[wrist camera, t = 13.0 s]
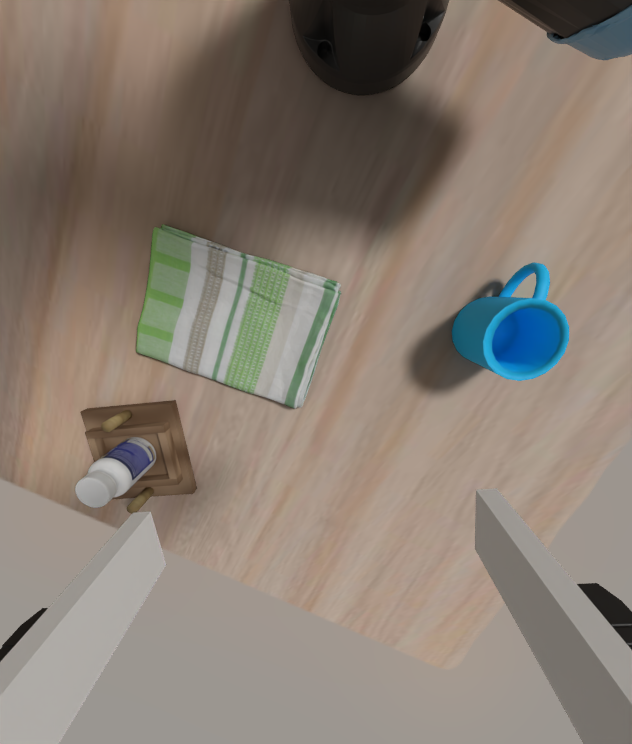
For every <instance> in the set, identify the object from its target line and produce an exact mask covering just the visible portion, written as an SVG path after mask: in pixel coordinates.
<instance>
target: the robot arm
mask: <svg viewBox="0 0 632 744" xmlns="http://www.w3.org/2000/svg"><path fill="white" fill-rule="evenodd" d="M498 1H500V2H502V3H503V4H505V5H506V6H508V7H509V8H511V9H512V10H514V11H515V12H517V13H519V14H520V15H522V16H523V17H525V18H526V19H528V20H529V21H531V22H532V23H534V24H535V25H537V26H539V27H540V28H542V29H543V30H545V31H546V32H547V37H548V38H549V39H550V40H551V41H553V42H555V43H558V44H568V45H570V46H572V47H574V48H575V49H577V50H579V51H581V52H583V53H585V54H586V55H588V56H590V57H592V58H595V59H599V60H609V59H612V58H618V57H625V56H628V55H631V54H632V0H498ZM448 2H449V0H289V4H290V11H291V18H292V25H293V30H294V34H295V37H296V40H297V43H298V46H299V48H300V51H301V53H302V55H303V57H304V58H305V60H306V62H307V63H308V65H309V66H310V68H311V69H312V70H313V71H314V72H315V73H316V75H317V76H318V77H320V78H321V79H322V80H323V81H324V82H326V83H327V84H328V85H330V86H332V87H333V88H335V89H338V90H340V91H343V92H346V93H350V94H356V95H368V94H375V93H379V92H382V91H385V90H388V89H390V88H392V87H394V86H396V85H397V84H399V83H400V82H402V81H403V80H404V79H406V78H407V77H408V76H409V75H410V74H411V73H413V72H414V70H415V69H416V68H417V67H418V66H419V65H420V64H421V62H422V61H423V60H424V58H425V57H426V55H427V54H428V52H429V50H430V48H431V47H432V45H433V43H434V40H435V38H436V36H437V33H438V31H439V28H440V26H441V24H442V21H443V19H444V16H445V13H446V10H447V6H448ZM475 550H476V551H477V553H478V555H479V557H480V559H481V560H482V562H483V564H484V566H485V568H486V569H487V571H488V573H489V575H490V577H491V578H492V580H493V582H494V584H495V586H496V587H497V589H498V591H499V593H500V595H501V596H502V598H503V600H504V602H505V604H506V605H507V607H508V609H509V611H510V612H511V614H512V616H513V618H514V619H515V621H516V623H517V625H518V627H519V629H520V630H521V632H522V634H523V636H524V637H525V639H526V641H527V643H528V645H529V647H530V648H531V650H532V652H533V654H534V655H535V657H536V659H537V661H538V663H539V665H540V666H541V668H542V670H543V672H544V673H545V675H546V677H547V679H548V680H549V682H550V684H551V686H552V688H553V690H554V691H555V693H556V695H557V697H558V699H559V701H560V702H561V704H562V706H563V708H564V710H565V711H566V713H567V715H568V717H569V718H570V720H571V722H572V724H573V726H574V727H575V729H576V731H577V733H578V735H579V736H580V738H581V740H582V742H583V744H632V612H631V611H630V610H629V608H628V607H627V606H626V605H625V604H624V603H623V602H622V601H621V600H619V599H618V598H617V597H615V596H614V595H613V594H611V593H610V592H608V591H607V590H606V589H604V588H603V587H601V586H600V585H599V584H597V583H592V584H576V583H575V582H574V580H573V579H572V578H571V577H570V576H569V574H568V573H567V572H566V571H565V570H564V568H563V567H562V566H561V565H560V564H559V562H558V561H557V560H556V559H555V558H554V556H553V555H552V554H551V553H550V552H549V550H548V549H547V548H546V547H545V546H544V544H543V543H542V542H541V541H540V540H539V538H538V537H537V536H536V535H535V534H534V532H533V531H532V530H531V529H530V528H529V526H528V525H527V524H526V523H525V522H524V520H523V519H522V518H521V517H520V516H519V515H518V513H517V512H516V511H515V510H514V509H513V507H512V506H511V505H510V504H509V503H508V501H507V500H506V499H505V498H504V497H503V495H502V494H501V493H500V492H499V491H498V489H497V488H495V489H480V490H476V518H475ZM165 566H166V563H165V559H164V556H163V552H162V549H161V545H160V542H159V538H158V535H157V532H156V528H155V525H154V521H153V518H152V514H151V511H150V512H135V513H132V514H131V516H130V517H129V518H128V519H127V520H126V521H125V522H124V523H123V525H122V526H121V527H120V528H119V529H118V530H117V531H116V532H115V534H114V535H113V536H112V537H111V538H110V539H109V540H108V541H107V543H106V544H105V545H104V546H103V547H102V548H101V549H100V550H99V552H98V553H97V554H96V555H95V556H94V557H93V558H92V559H91V561H90V562H89V563H88V564H87V565H86V566H85V567H84V568H83V570H82V571H81V572H80V573H79V574H78V575H77V576H76V577H75V579H74V580H73V581H72V582H71V583H70V584H69V585H68V586H67V588H66V589H65V590H64V591H63V592H62V593H61V594H60V595H59V597H58V598H57V599H56V600H55V601H54V602H53V603H52V604H51V606H50V607H49V608H42V609H41V610H40V611H38V612H37V613H36V614H35V615H33V616H32V617H31V618H30V619H28V620H27V621H26V622H25V623H23V624H22V625H21V626H20V627H19V628H18V629H17V630H16V631H15V632H14V633H13V635H12V636H11V637H10V638H9V639H8V640H7V641H6V642H5V643H4V644H3V645H2V648H1V649H0V744H59V742H60V741H61V739H62V737H63V735H64V734H65V732H66V731H67V729H68V728H69V726H70V724H71V723H72V721H73V719H74V717H75V716H76V714H77V712H78V711H79V709H80V707H81V706H82V704H83V703H84V701H85V699H86V698H87V696H88V694H89V692H90V691H91V689H92V687H93V686H94V684H95V683H96V681H97V679H98V677H99V676H100V674H101V673H102V671H103V669H104V668H105V666H106V664H107V662H108V661H109V659H110V657H111V656H112V654H113V653H114V651H115V649H116V648H117V646H118V644H119V643H120V641H121V639H122V638H123V636H124V634H125V632H126V631H127V629H128V627H129V626H130V624H131V622H132V621H133V619H134V617H135V616H136V614H137V613H138V611H139V609H140V608H141V606H142V604H143V603H144V601H145V599H146V598H147V596H148V594H149V593H150V591H151V589H152V588H153V586H154V584H155V583H156V580H157V579H158V577H159V576H160V574H161V573H162V571H163V569H164V568H165Z"/></svg>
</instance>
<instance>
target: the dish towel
mask: <svg viewBox="0 0 632 744" xmlns="http://www.w3.org/2000/svg"><path fill="white" fill-rule="evenodd" d="M340 286H341V285H340V284H339V283H337V282H336V281H332V280H329V279H326V278H324V277H322V276H318V275H316V274H313V273H309V272H306V271H302V270H298V269H296V268H293V267H290V266H287V265H284V264H281V263H278V262H275V261H271V260H269V259H264V258H261V257H256V256H252V255H248V254H245V253H242V252H239V251H236V250H233V249H231V248H229V247H225V246H223V245H220V244H218V243H216V242H212V241H209V240H206V239H204V238H200V237H198V236H195V235H192V234H190V233H187V232H184V231H181V230H179V229H174V228H172V227H169V226H166V225H163V224H162V226H161V228H157V227H155V228H154V230H153V234H152V245H151V258H150V268H149V276H148V283H147V289H146V295H145V300H144V305H143V310H142V313H141V317H140V320H139V323H138V328H137V345H136V347H137V349H136V352H137V353H140V354H142V355H145V356H149V357H152V358H154V359H157V360H160V361H163V362H166V363H168V364H171V365H173V366H176V367H178V368H181V369H183V370H186V371H188V372H191V373H195V374H198V375H201V376H204V377H207V378H210V379H213V380H215V381H218V382H221V383H223V384H226V385H228V386H230V387H233V388H237V389H239V390H242V391H245V392H248V393H251V394H255V395H258V396H261V397H265V398H268V399H271V400H274V401H276V402H279V403H282V404H285V405H287V406H289V407H291V408H294V409H296V408H297V407H300V408H301V407H302V406H303V402H304V400H305V398H306V395H307V392H308V389H309V387H310V384H311V381H312V378H313V375H314V372H315V368H316V365H317V362H318V358H319V356H320V352H321V349H322V346H323V344H324V341H325V338H326V335H327V332H328V330H329V327H330V324H331V322H332V319H333V317H334V314H335V312H336V309H337V307H338V303H339V298H340V294H341V292H340V291H339V288H340Z"/></svg>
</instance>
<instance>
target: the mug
mask: <svg viewBox="0 0 632 744" xmlns="http://www.w3.org/2000/svg"><path fill="white" fill-rule="evenodd" d="M534 272H535V274H536V287H535V292H534V295H533V297H532V298H514V297H511V295H512V294H513V292H514V291H515V289H516V288H517V286H518V285H519V284H520V283H521V282H522V281H523V280H524V279H525V278H526V277H527V276H529V275H530V274H532V273H534ZM549 285H550V277H549V271H548V270H547V268H546V267H545V265H543V264H539V263H531V264H528V265H526V266H524V267H522V268H521V269H520V270H519V271H517V272H516V273H515V274H514V275H513V276H512V278H511V279H510V280H509V281H508V282H507V284H506V285H505V287H504V288H503V290H502V291H501V293H500V295H499V297H484V298H479V299H477V300H475V301H473V302H471V303H469V304H468V305H466V306H465V307H464V308H463V309H462V310H461V311H460V312H459V314H458V316H457V317H456V319H455V321H454V325H453V329H452V339H453V343H454V345H455V348H456V350H457V351H458V352H459V353H460V354H461V355H462V356H463V357H464V358H466V359H468V360H470V361H472V362H474V363H476V364H478V365H480V366H482V367H484V368H486V369H488V370H490V371H492V372H494V373H496V374H498V375H500V376H502V377H504V378H506V379H511V380H518V381H521V380H528V379H533V378H536V377H538V376H540V375H542V374H544V373H546V372H547V371H549V370H550V369H551V368H552V367H553V366H555V365H556V364H557V363H558V361H559V360H560V358H561V357H562V356H563V354H564V353H565V350H566V347H567V344H568V341H569V325H568V323H567V320H566V317H565V315H564V314H563V313H562V311H561V310H560V309H559V308H558V307H557V306H556V305H554V304H552V303H550V302H548V301H546V297H547V294H548V290H549Z"/></svg>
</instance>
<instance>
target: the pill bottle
mask: <svg viewBox="0 0 632 744" xmlns="http://www.w3.org/2000/svg"><path fill="white" fill-rule="evenodd" d="M155 461H156V451H155V449H154V447H153V446H152V444H151V443H149V442H148V441H147V440H145V439H143V438H139V437H131V438H128V439H126V440H124V441H123V442H121V443H120V444H119V445H117V446H116V447H115V448H113V449H112V450H111V451H109V452H108V453H106V454H105V455H104V456H102V457H101V458H100V459H98V460H97V461H96V462H94V463H93V464H92V465H91V467H90V468H89V470H88V474H87V475H86V476H85V477H83V478H82V479H81V480H80V481H79V482H78V483H77V484H76V487H75V492H76V495H77V497H78V499H79V500H80V501H81V502H82V503H83V504H85V505H87V506H89V507H94V508H99V507H102V506H104V505H106V504H107V503H108V502H109V501H110V500H111V499H112V498H113V497H118V496H121V495H123V494H124V493H126V492H127V491H128V490H129V489H130V488H131V487H132V486H133V485H134V484H135V483H136V482H137V481H138V480H139V479H140V478H141V477H142V476H143V475H144V474H145V473H146V472H147V471H148V470H149V469H150V468H151V467H152V466H153V465H154V463H155Z"/></svg>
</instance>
